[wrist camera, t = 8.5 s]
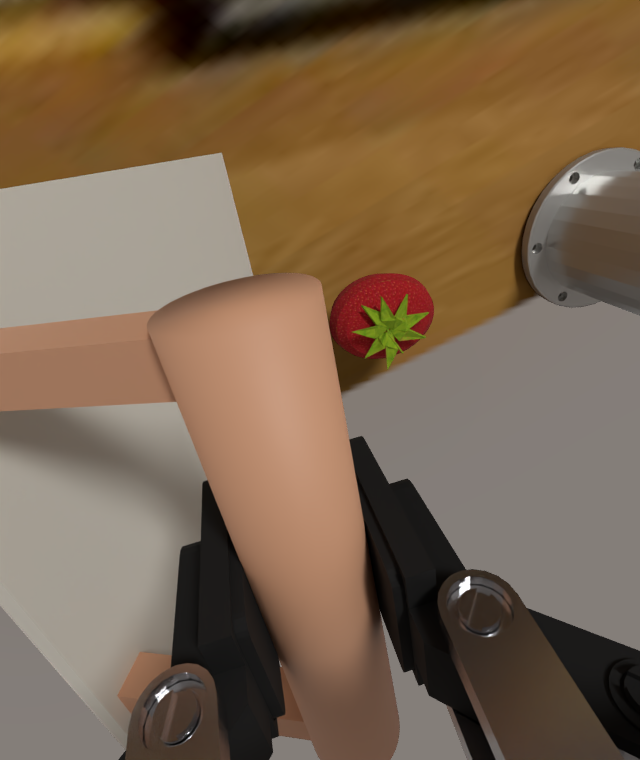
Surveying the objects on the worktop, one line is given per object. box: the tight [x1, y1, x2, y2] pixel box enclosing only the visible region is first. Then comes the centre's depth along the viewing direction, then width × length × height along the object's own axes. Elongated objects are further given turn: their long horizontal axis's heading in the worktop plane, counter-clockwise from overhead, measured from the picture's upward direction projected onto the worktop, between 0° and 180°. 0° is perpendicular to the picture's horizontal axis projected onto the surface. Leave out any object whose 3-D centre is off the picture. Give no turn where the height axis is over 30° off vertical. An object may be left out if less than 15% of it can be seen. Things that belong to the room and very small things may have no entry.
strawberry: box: [330, 273, 434, 369], centre depth 31 cm, size 6×8×10 cm
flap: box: [0, 153, 400, 760], centre depth 16 cm, size 18×16×8 cm
